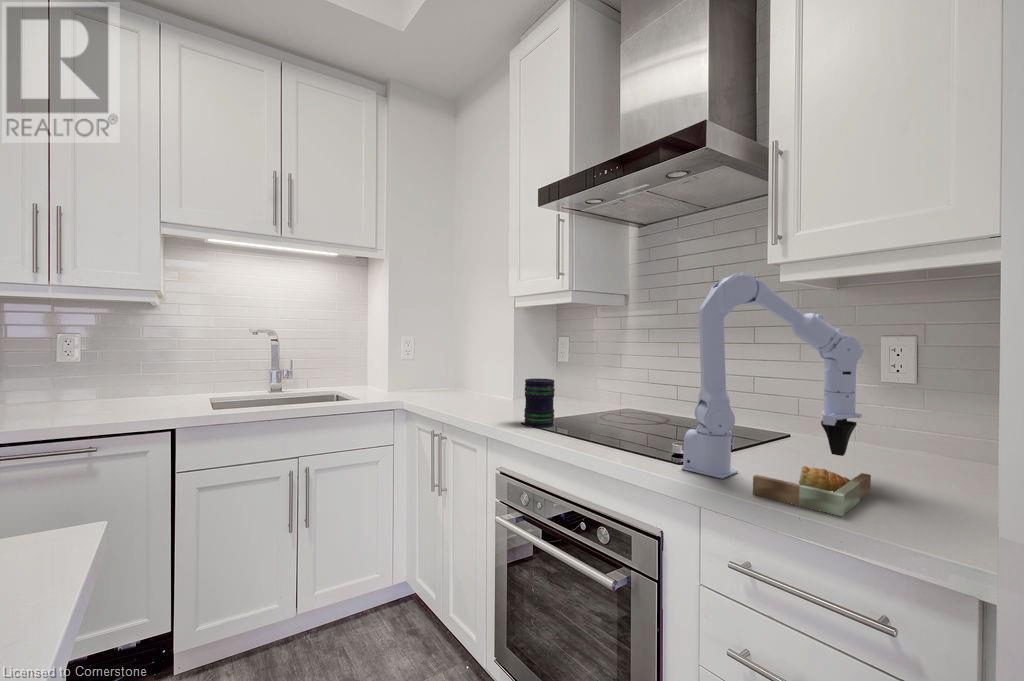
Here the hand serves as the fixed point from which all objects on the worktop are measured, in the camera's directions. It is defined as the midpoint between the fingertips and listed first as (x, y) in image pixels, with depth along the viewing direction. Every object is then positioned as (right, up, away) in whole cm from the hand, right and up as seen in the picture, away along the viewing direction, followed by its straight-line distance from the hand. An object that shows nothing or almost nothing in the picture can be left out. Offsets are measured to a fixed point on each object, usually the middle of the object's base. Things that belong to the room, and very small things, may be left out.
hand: (838, 454), depth 103 cm
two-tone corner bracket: (-11, -5, -9) cm, 15 cm away
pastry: (-7, -6, -5) cm, 10 cm away
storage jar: (-61, -4, +55) cm, 82 cm away
